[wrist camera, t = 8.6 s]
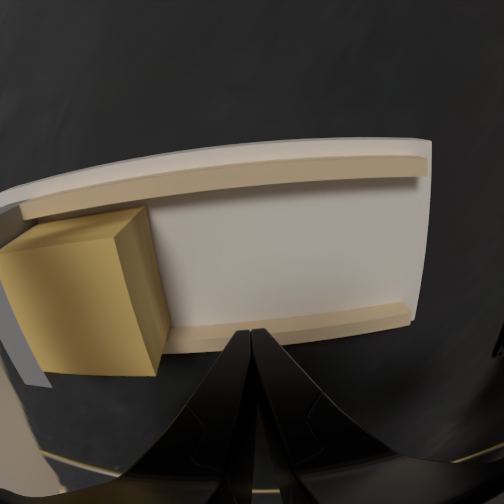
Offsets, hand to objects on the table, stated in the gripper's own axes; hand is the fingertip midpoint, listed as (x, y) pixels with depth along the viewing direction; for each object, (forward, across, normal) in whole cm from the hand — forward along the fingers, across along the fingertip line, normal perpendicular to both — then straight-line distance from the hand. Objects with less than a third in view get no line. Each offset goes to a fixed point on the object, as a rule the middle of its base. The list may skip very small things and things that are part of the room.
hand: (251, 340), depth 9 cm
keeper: (+6, +7, 0) cm, 9 cm away
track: (+8, +2, 0) cm, 8 cm away
